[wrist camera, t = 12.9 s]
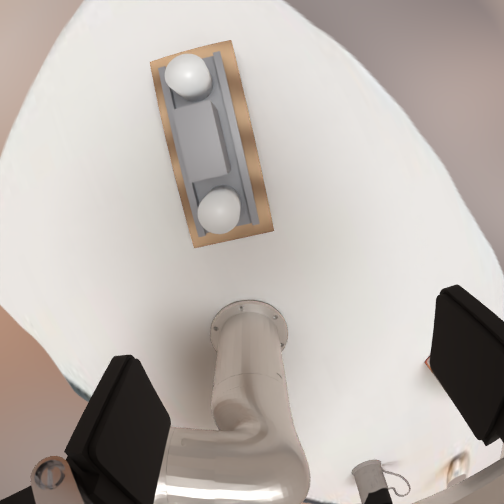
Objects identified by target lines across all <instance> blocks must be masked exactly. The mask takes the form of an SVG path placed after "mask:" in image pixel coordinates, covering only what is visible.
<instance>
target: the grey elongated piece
mask: <svg viewBox="0 0 504 504" xmlns="http://www.w3.org/2000/svg"><path fill="white" fill-rule="evenodd" d="M158 70H159V75H160V80H161V85H162V90H163V94H164V99H165V104H166V108H167V113H168V117H169V122H170V126H171V130H172V135H173V139H174V143H175V147H176V152H177V156H178V160H179V164H180V168H181V172H182V176H183V180H184V184H185V188H186V192H187V196H188V200H189V203H190V207H191V211H192V215H193V219H194V222H195V226H196V230H197V233H198V237H203V236H206V234H207V233H209V232H211V233H214V234H224V233H227V232H229V231H231V230H232V229H233V228H234V227H236V226H241V225H245V224H250V223H252V225H257V224H260V223H259V217H258V213H257V208H256V204H255V199H254V195H253V190H252V186H251V181H250V177H249V173H248V168H247V164H246V159H245V155H244V150H243V146H242V142H241V137H240V133H239V129H238V124H237V120H236V116H235V111H234V107H233V103H232V99H231V94H230V90H229V86H228V82H227V77H226V73H225V69H224V65H223V61H222V57H221V53H220V51H218V52H213V56H210V57H206V58H202V59H201V58H200V57H199V56H197V55H194V54H182V55H179V56H177V57H175V58H174V59H172V60H171V61H170V62H169V64H168V65H167V67H165V66H163V67H160V68H158Z"/></svg>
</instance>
